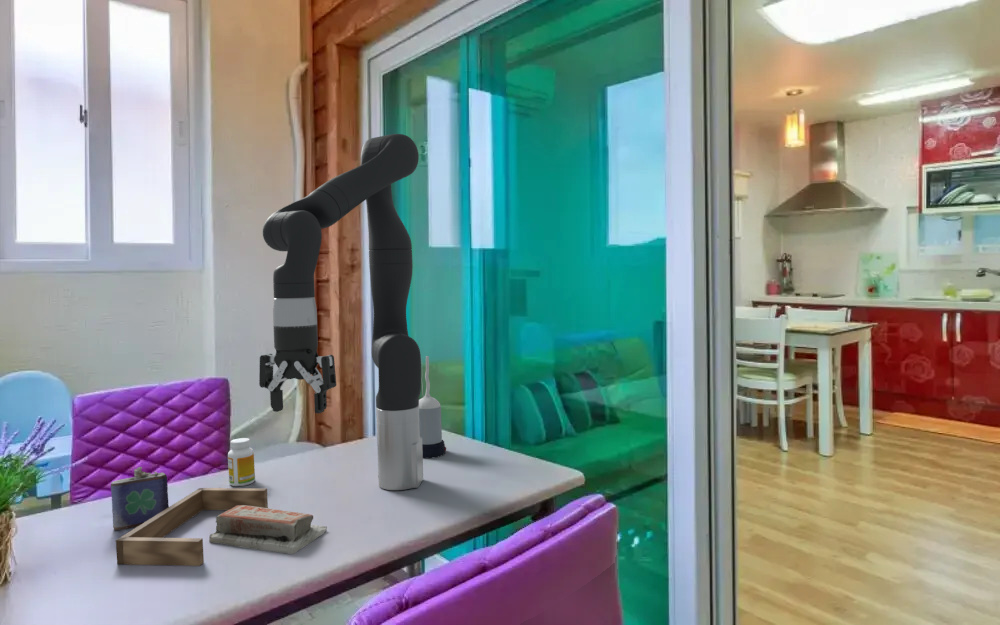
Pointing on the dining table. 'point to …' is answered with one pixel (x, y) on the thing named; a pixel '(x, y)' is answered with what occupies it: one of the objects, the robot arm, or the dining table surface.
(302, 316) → the robot arm
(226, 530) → the packaged product
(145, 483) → the flask
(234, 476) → the supplement bottle
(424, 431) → the humidifier
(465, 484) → the dining table surface
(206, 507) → the frame
